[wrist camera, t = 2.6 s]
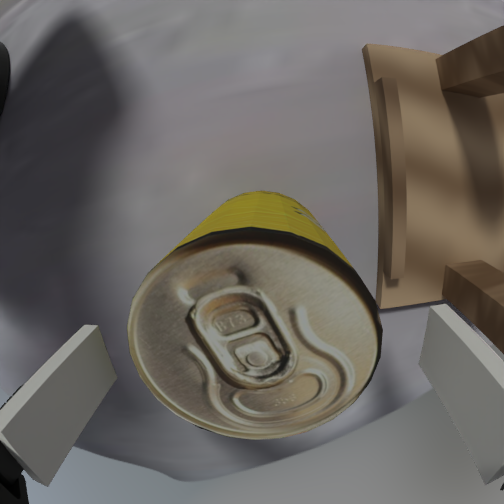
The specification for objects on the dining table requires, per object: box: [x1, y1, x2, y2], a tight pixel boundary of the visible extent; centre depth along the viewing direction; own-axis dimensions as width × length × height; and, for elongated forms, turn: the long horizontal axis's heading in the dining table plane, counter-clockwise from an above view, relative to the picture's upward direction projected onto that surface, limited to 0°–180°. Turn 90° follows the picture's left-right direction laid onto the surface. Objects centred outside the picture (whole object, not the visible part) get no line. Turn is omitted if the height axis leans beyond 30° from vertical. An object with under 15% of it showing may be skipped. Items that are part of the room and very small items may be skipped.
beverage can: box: [127, 191, 383, 440], centre depth 15 cm, size 9×9×12 cm
